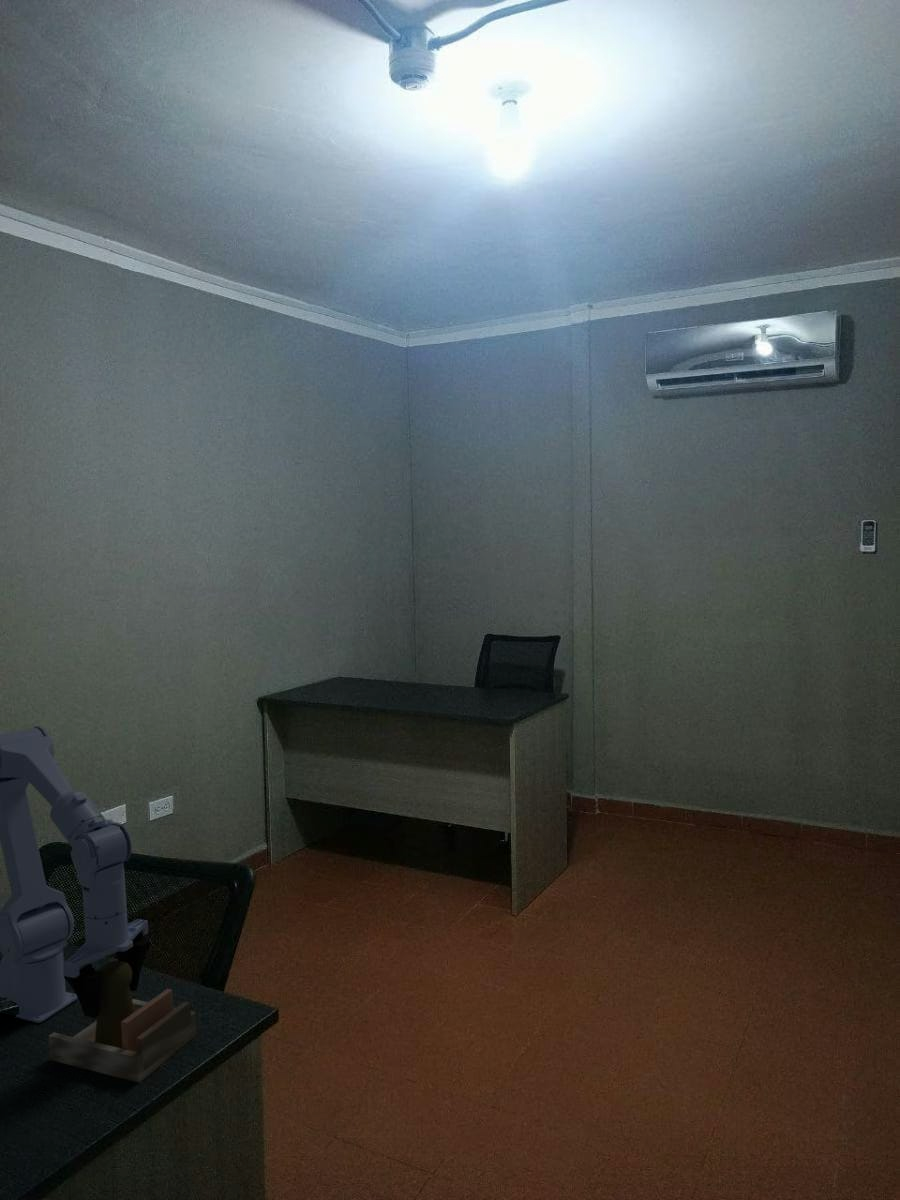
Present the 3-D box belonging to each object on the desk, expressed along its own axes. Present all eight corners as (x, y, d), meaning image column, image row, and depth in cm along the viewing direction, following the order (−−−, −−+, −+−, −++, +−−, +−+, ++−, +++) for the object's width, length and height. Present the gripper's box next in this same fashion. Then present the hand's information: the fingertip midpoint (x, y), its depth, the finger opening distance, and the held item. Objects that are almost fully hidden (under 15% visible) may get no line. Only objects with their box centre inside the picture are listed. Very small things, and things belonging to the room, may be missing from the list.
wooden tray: (50, 1059, 124) (47, 1022, 124) (112, 1016, 135) (110, 981, 135) (139, 1082, 118) (136, 1043, 118) (196, 1035, 129) (194, 999, 129)
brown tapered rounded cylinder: (123, 1052, 123) (118, 977, 123) (85, 1048, 125) (80, 974, 124) (147, 1029, 129) (143, 957, 129) (111, 1025, 131) (106, 954, 130)
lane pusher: (123, 1063, 121) (120, 1021, 120) (169, 1027, 129) (167, 988, 129) (129, 1064, 120) (126, 1023, 120) (175, 1028, 129) (172, 989, 128)
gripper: (88, 936, 118) (94, 1033, 119) (162, 894, 131) (167, 982, 132) (49, 929, 120) (55, 1024, 121) (125, 889, 134) (130, 975, 135)
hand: (111, 1002), depth 127 cm, fingers open, 7 cm apart
